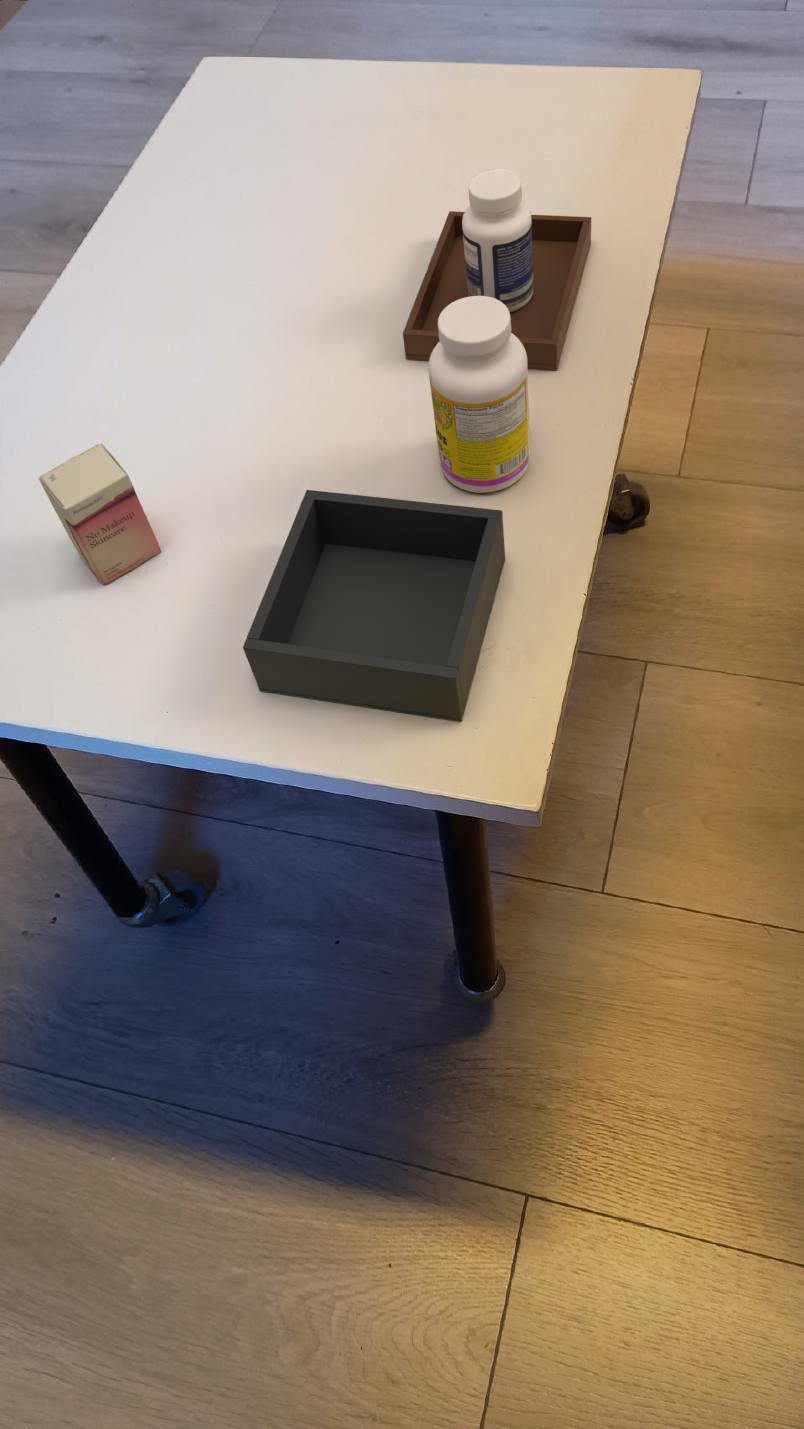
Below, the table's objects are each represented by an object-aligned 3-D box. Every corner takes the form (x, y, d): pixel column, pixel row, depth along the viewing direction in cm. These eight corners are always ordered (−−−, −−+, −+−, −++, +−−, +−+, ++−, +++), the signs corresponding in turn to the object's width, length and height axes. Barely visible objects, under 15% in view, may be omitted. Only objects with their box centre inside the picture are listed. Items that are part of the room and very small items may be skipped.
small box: (104, 587, 79) (62, 510, 73) (77, 554, 82) (35, 476, 75) (164, 552, 81) (129, 472, 74) (136, 519, 83) (100, 440, 76)
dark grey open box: (319, 537, 80) (306, 489, 76) (505, 558, 77) (502, 509, 73) (259, 691, 73) (242, 647, 69) (461, 722, 70) (455, 678, 66)
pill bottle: (541, 278, 92) (539, 165, 84) (523, 319, 89) (520, 207, 81) (478, 271, 93) (471, 160, 85) (459, 312, 91) (450, 201, 83)
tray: (451, 237, 97) (449, 210, 95) (590, 243, 95) (591, 216, 92) (405, 359, 89) (402, 333, 87) (556, 370, 86) (556, 344, 84)
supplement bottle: (446, 432, 84) (429, 285, 73) (533, 432, 83) (530, 283, 72) (435, 497, 80) (416, 352, 70) (526, 498, 79) (521, 351, 69)
